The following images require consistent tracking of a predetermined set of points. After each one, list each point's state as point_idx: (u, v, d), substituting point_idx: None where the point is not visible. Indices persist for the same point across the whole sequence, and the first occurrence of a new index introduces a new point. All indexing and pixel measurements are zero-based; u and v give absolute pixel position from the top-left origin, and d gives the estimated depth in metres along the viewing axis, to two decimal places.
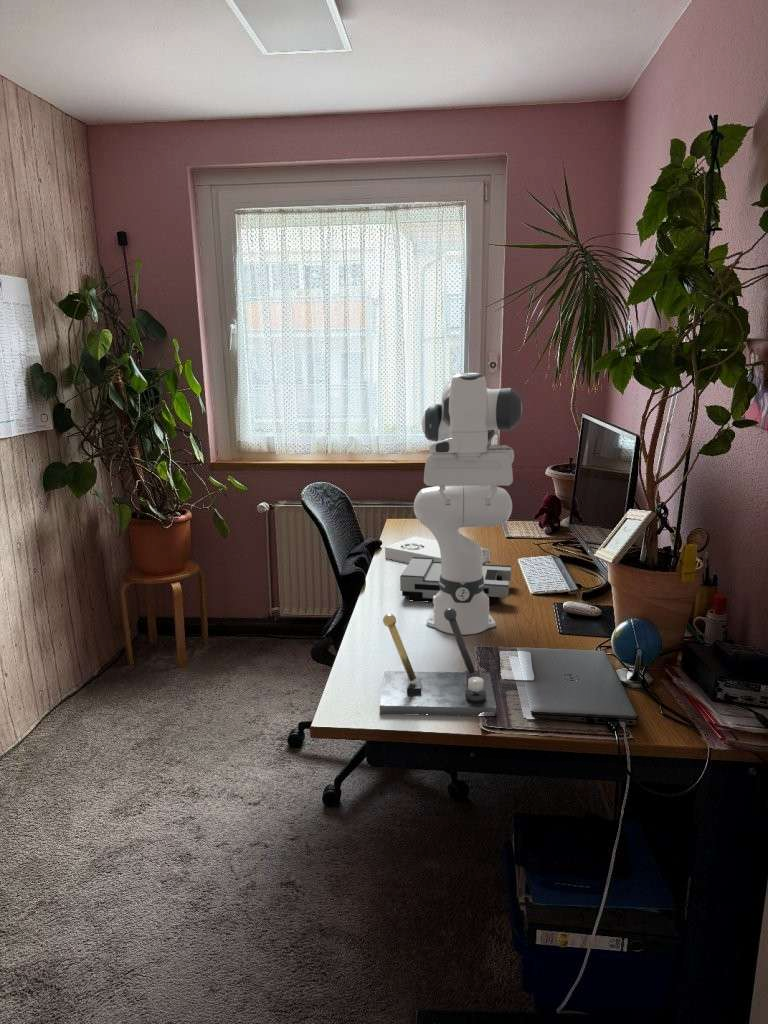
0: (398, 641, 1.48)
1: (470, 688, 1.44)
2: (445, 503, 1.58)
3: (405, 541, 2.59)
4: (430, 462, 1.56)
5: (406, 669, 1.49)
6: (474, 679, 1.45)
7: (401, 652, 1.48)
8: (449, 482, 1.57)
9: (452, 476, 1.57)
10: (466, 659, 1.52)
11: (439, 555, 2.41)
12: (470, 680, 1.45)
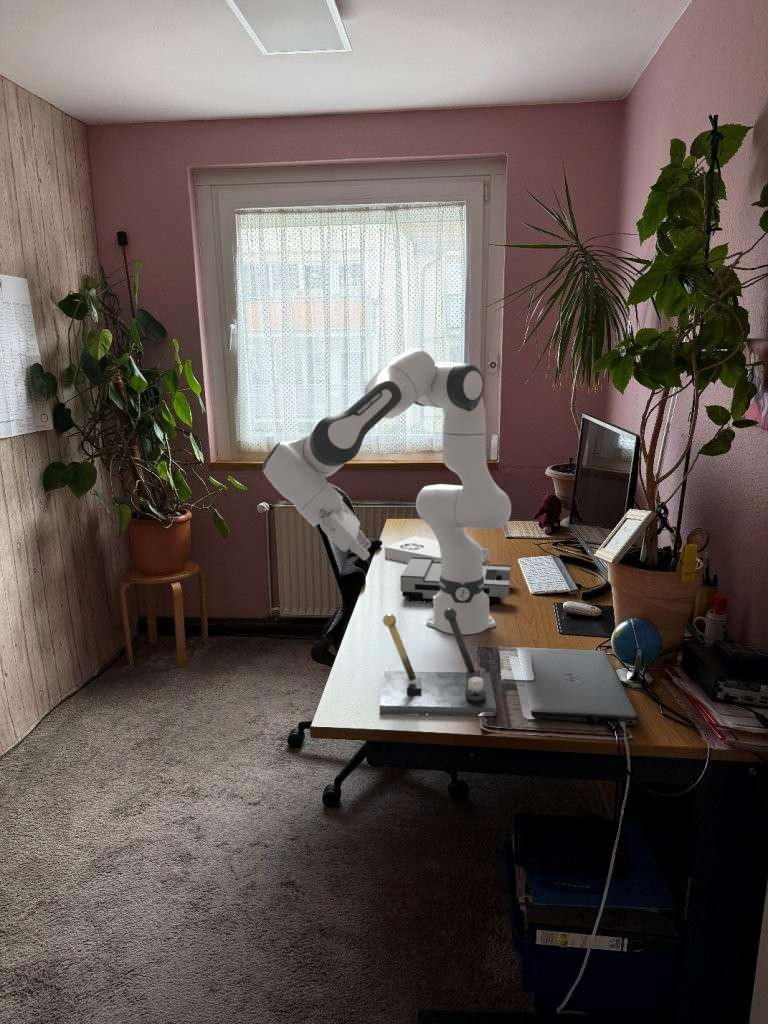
0: (398, 641, 1.48)
1: (470, 688, 1.44)
2: None
3: (405, 541, 2.60)
4: None
5: (406, 669, 1.49)
6: (474, 679, 1.45)
7: (401, 652, 1.48)
8: None
9: None
10: (466, 659, 1.52)
11: (439, 555, 2.41)
12: (470, 680, 1.45)
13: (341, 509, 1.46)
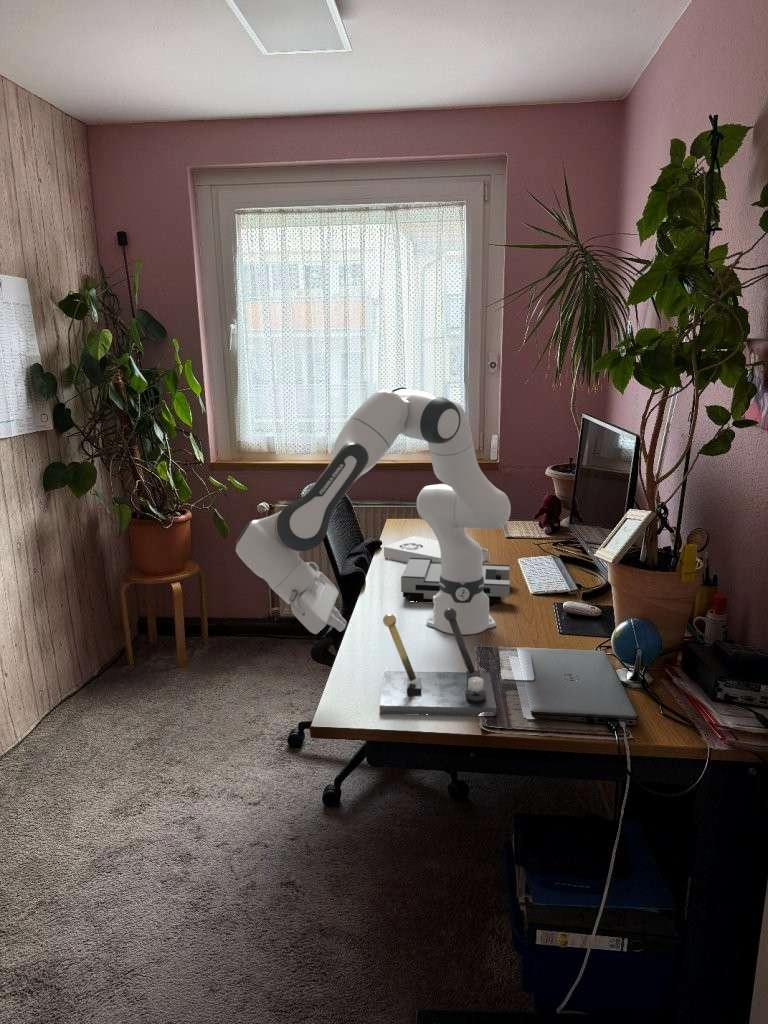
0: (398, 641, 1.48)
1: (470, 688, 1.44)
2: None
3: (404, 541, 2.60)
4: None
5: (406, 669, 1.49)
6: (474, 679, 1.45)
7: (401, 652, 1.48)
8: None
9: None
10: (466, 659, 1.52)
11: (437, 555, 2.41)
12: (470, 680, 1.45)
13: (315, 587, 1.45)
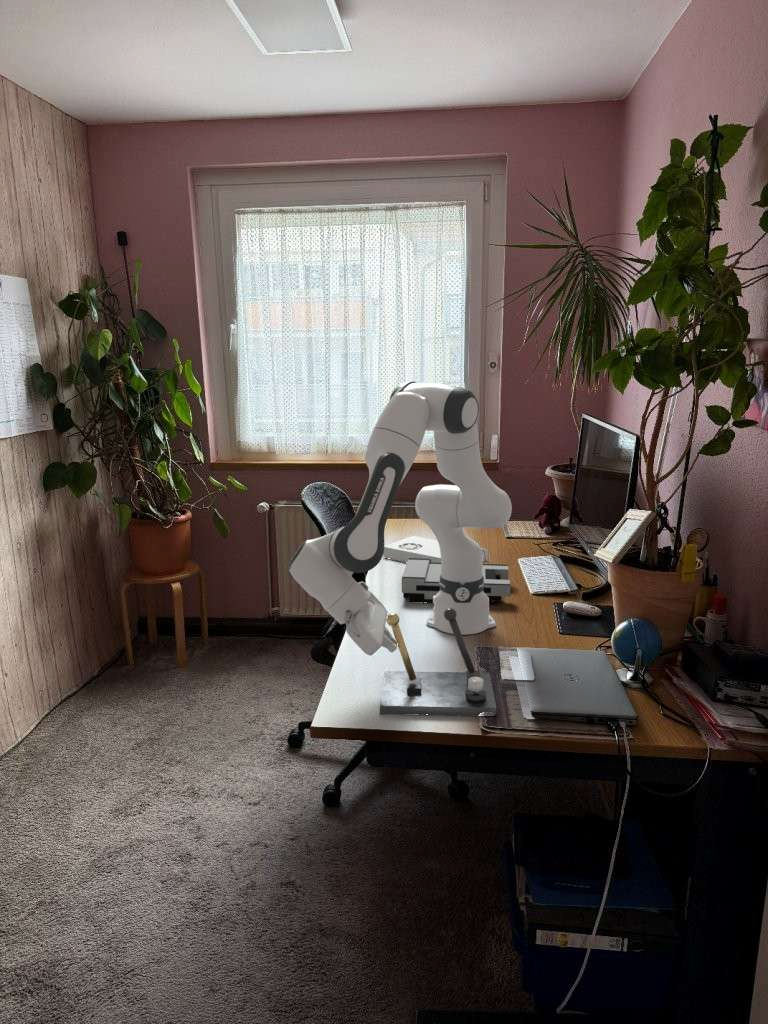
0: (401, 641, 1.47)
1: (470, 688, 1.44)
2: None
3: (403, 541, 2.60)
4: None
5: (407, 669, 1.49)
6: (474, 679, 1.45)
7: (403, 651, 1.48)
8: None
9: None
10: (466, 659, 1.52)
11: (437, 555, 2.42)
12: (470, 680, 1.45)
13: (368, 607, 1.46)
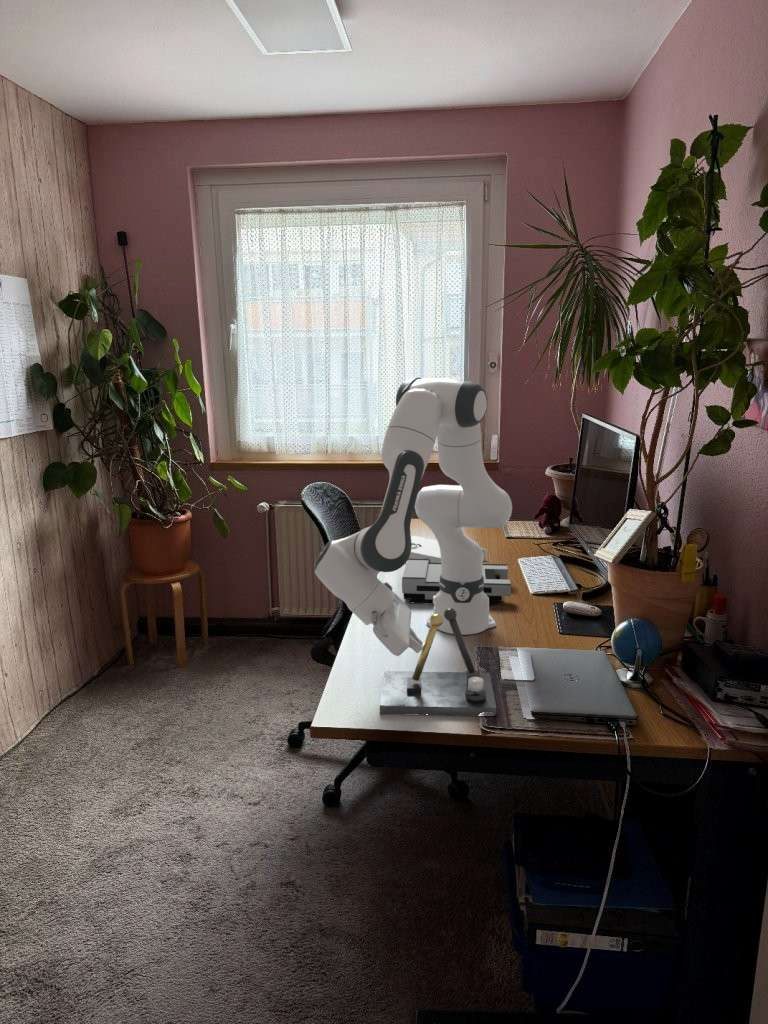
0: (430, 642, 1.47)
1: (470, 688, 1.44)
2: None
3: None
4: None
5: (417, 668, 1.49)
6: (474, 679, 1.45)
7: (425, 652, 1.48)
8: None
9: None
10: (466, 659, 1.52)
11: (436, 554, 2.42)
12: (470, 680, 1.45)
13: (393, 608, 1.45)
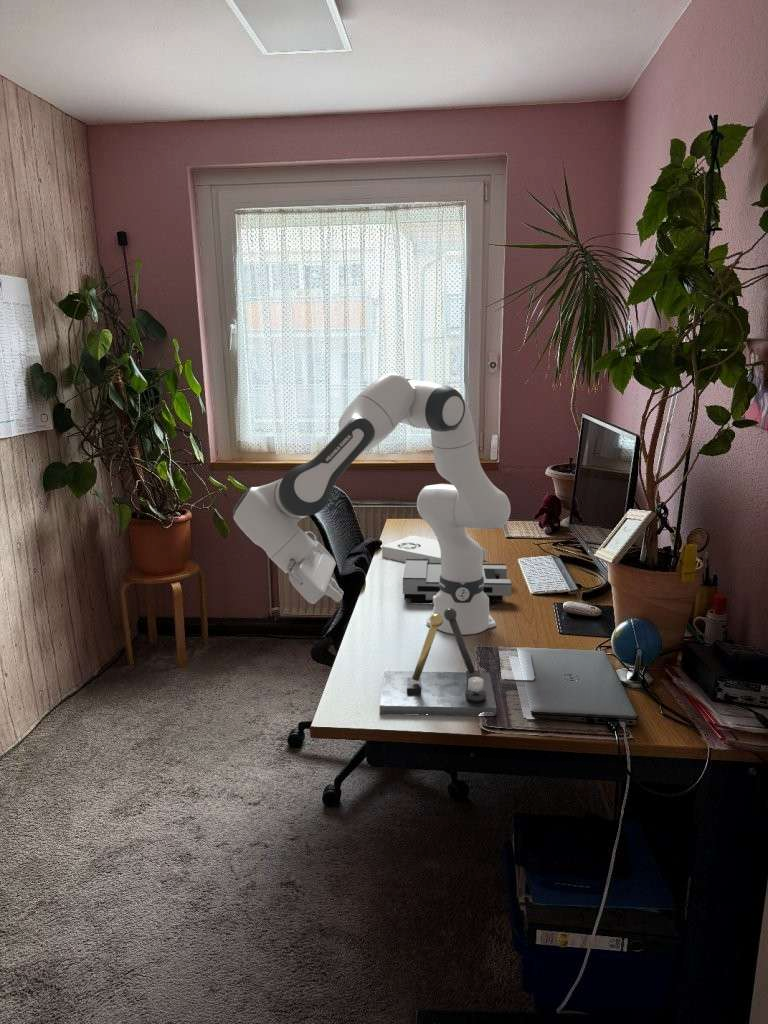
0: (430, 642, 1.47)
1: (470, 688, 1.44)
2: None
3: (402, 540, 2.61)
4: None
5: (418, 668, 1.49)
6: (474, 679, 1.45)
7: (425, 652, 1.48)
8: None
9: None
10: (466, 659, 1.52)
11: (435, 554, 2.42)
12: (470, 680, 1.45)
13: (313, 556, 1.44)
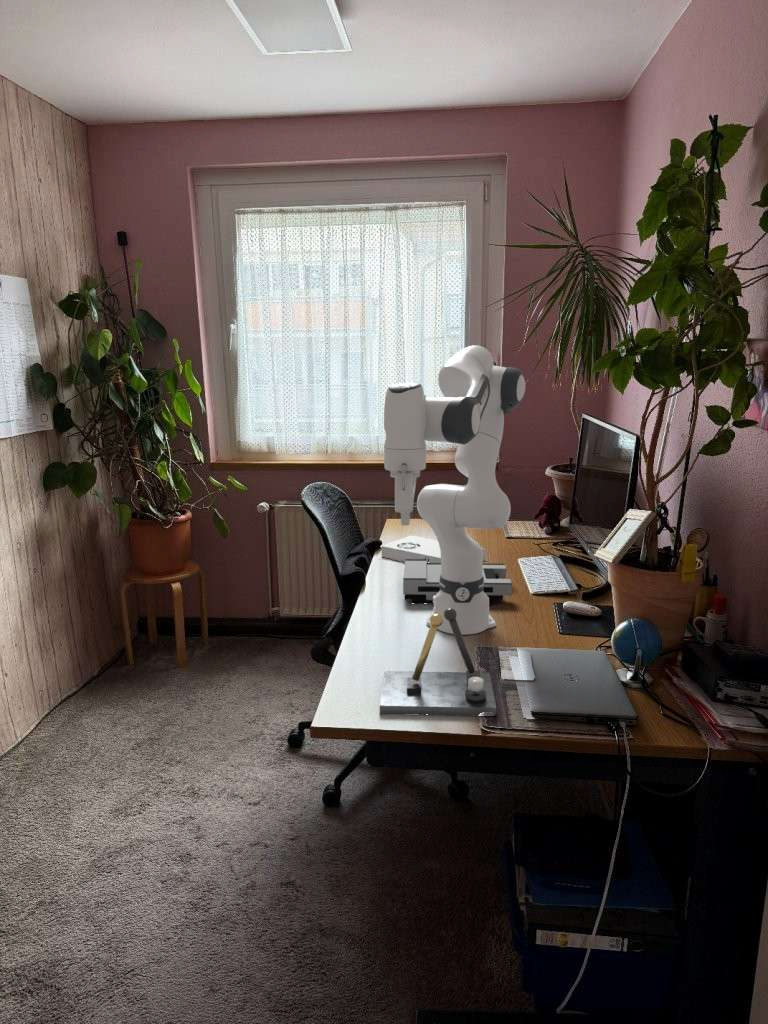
0: (430, 642, 1.47)
1: (470, 688, 1.44)
2: None
3: (402, 540, 2.61)
4: None
5: (418, 668, 1.49)
6: (474, 679, 1.45)
7: (425, 652, 1.48)
8: None
9: None
10: (466, 659, 1.52)
11: (434, 554, 2.42)
12: (470, 680, 1.45)
13: (418, 475, 1.46)
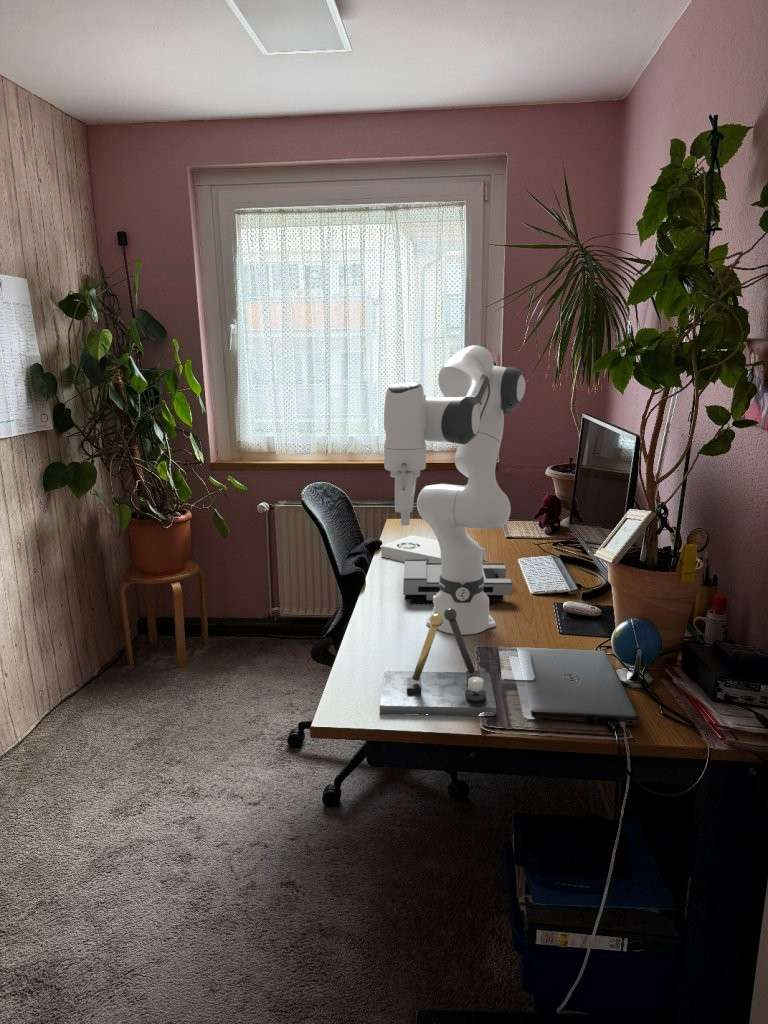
0: (430, 642, 1.47)
1: (470, 688, 1.44)
2: None
3: (402, 540, 2.61)
4: None
5: (418, 668, 1.49)
6: (474, 679, 1.45)
7: (425, 652, 1.48)
8: None
9: None
10: (466, 659, 1.52)
11: (434, 554, 2.42)
12: (470, 680, 1.45)
13: (418, 475, 1.46)
